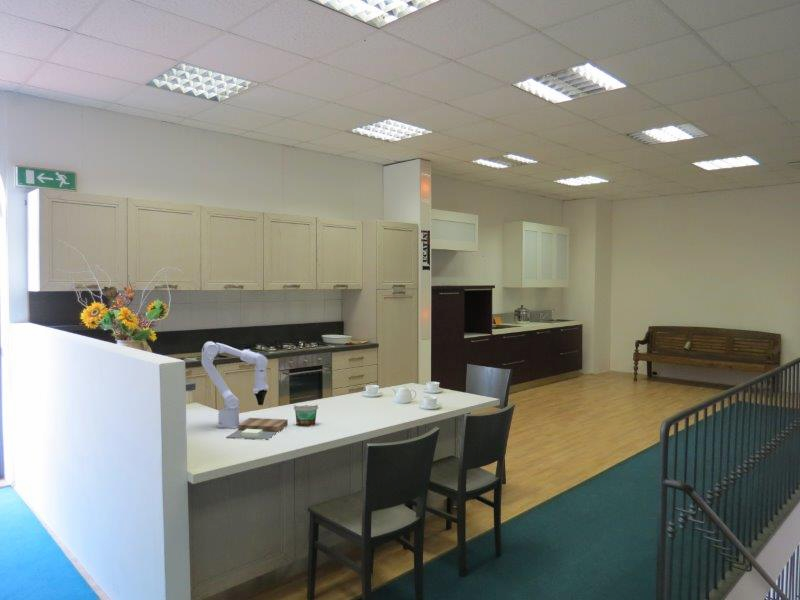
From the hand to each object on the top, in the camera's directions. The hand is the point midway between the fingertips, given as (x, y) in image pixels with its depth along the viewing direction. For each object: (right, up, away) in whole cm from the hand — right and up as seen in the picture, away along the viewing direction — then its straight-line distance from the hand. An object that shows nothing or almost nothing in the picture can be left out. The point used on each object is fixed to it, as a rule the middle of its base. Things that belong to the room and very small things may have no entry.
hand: (260, 404), depth 285 cm
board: (+4, -10, -9) cm, 14 cm away
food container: (+24, -10, -3) cm, 26 cm away
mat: (+2, -10, -23) cm, 25 cm away
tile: (+2, -8, -24) cm, 25 cm away
